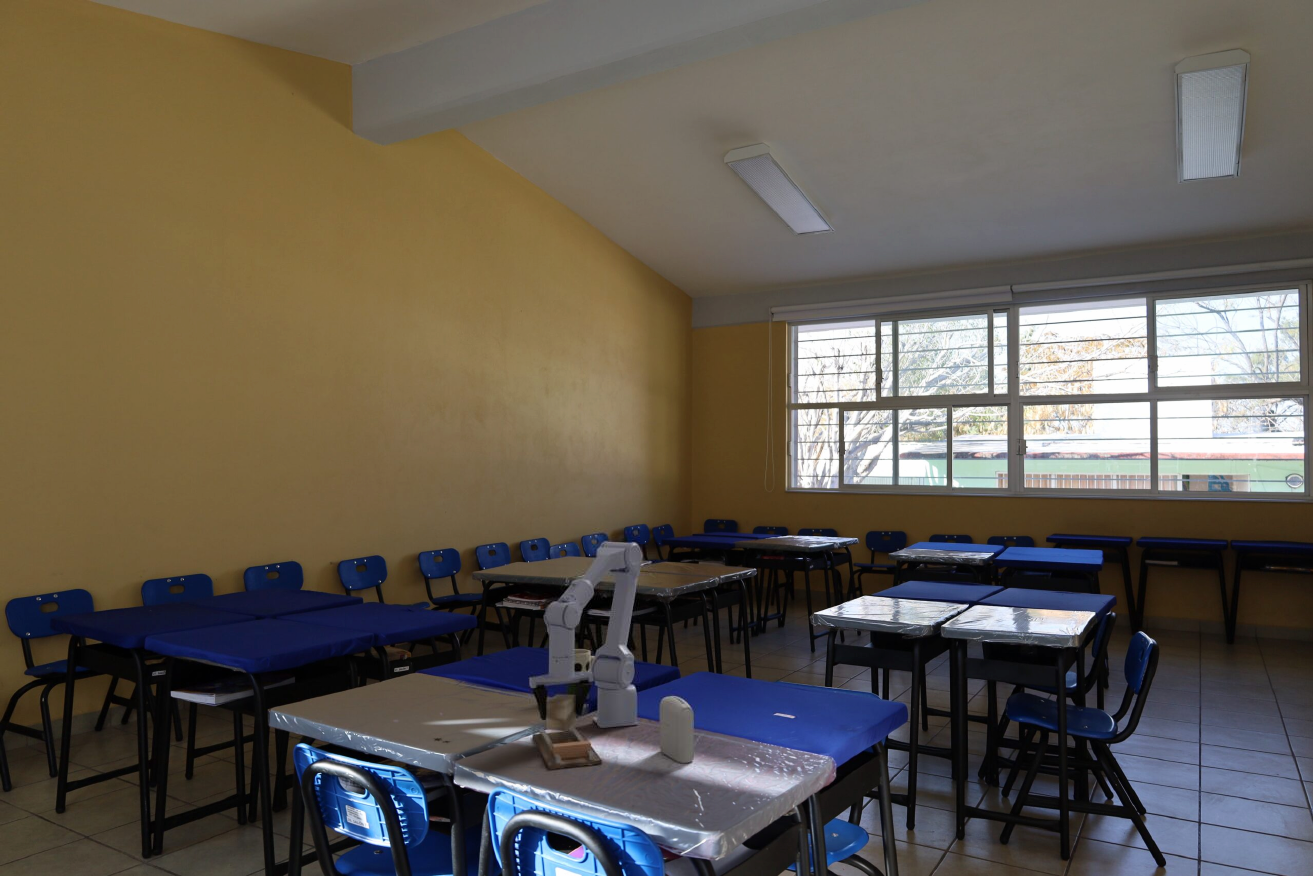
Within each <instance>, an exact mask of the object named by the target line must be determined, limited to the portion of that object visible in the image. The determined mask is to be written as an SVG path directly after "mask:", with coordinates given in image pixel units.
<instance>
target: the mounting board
mask: <svg viewBox="0 0 1313 876" xmlns="http://www.w3.org/2000/svg"><path fill="white" fill-rule="evenodd" d="M576 730H577V731H578V733H579V734H580V735H581V737H582V738H583V739H584V741H588V739H587V738H586V737H585V736H584V734H583V733H582V731H581V730H579V729H576ZM546 733H547V735H548V737H549V738H550V740H551V742H552V743H553V744H560V743H570V742H576V740H575V739H574V738H573V736H572V735H571V733H570V732H569V730H563V731H555V732H554V731H553V732H546ZM532 740H533V741H534V744H535V745H536V747H537V749H538V751H539V753H540V755H541V756H542V758H543V760H544V762H545V764H546V766H547V768H548V767H549V768H548V769H550V770H557V769H556V768H560V769H565V768H564V767H569V768H573V767H572V766H579V767H581V766H580V765H588V766H590V765H589V764H597V765H603V759H602V758H601V757H600V756H599V755H598V752H597V751H595V749H594V747H593V746H592V745H591V750H592V752H593V753H594V760H589V759H588V758H587V756H582V757H572V758H562V759H561V764H556V763H555V761H554V759H553V757H552V756H551V754H550V752H549V750H548V749H547V747H546V745H545V743H544V742H543V740H542V738H541V736H540V735H539V733H534V734H532Z"/></svg>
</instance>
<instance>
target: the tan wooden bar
mask: <svg viewBox="0 0 1313 876" xmlns="http://www.w3.org/2000/svg"><path fill="white" fill-rule="evenodd" d="M591 746H592V743H591V741H590V740H587V741H581V742H570V743H560V744H552V751H553V752H552V757H553V759H554V756H553V755H554V753H559V755H560V757H561V759H562V758H572V757H582V756H586V750H591Z"/></svg>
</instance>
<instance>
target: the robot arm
mask: <svg viewBox="0 0 1313 876" xmlns="http://www.w3.org/2000/svg"><path fill="white" fill-rule="evenodd" d="M643 556H644V554H643V552H642V550H641V548H640V546H639V544H638V543H637V542H632V541H631V542H622V541H621V542H618V541H617V542H616V541H615V542H614V541H608V540H605V541H603V542H602V543H601V544H600V545H599V547H598V548H597V549H596V557H595V559H594V561H593V562H592V563H591V565H590V566H589V568H588V569H587V571H586V572H585V574H583V577H582V578H577V579H575V580H572V582H571V583H570V585H569V587H568V588H567V589H566V590H565V591H564V593H563V594H562V595H561V596H560V598H558V600H557V601H556V600H555V601H552V602H551V603H550V604H548V605H547V607H546V609H545V612H544V614H543V620H544V623H545V625H546V629H547V630H546V632H547V634H548V636H549V637H548V638H549V639H548V641H549V642H548V644H549V645H548V673H546V674H543V675H538V676H537V675H536V676H532V677H531V676H530V677H529V678H528V679H529V680H528V681H529V687H530V689H531V691H532V693H533V695H534V698H535V701H536V703H537V708H538V711H539V718H540V719H541V720H542V721H546V716H547V713H546V703H547V701H548V694H549V691H548V689H546V686H555V685H565V684H566V685H567V683H574V684H575V693H576V716H583V715H582V714H583V709H584V706H585V702H586V700H587V699H586V697H587V695H588V693H590V691H591V689H592V685H593V683H592V682H594V685H595V686H597V716H594V717H592V721H594V722H595V723H597V726H598V727H599V728H601V729H604V728H606V729H607V728H615V727H617V728H618V727H626V726H638V724H639V723H638V694H637V689H636V687H635V685H634V684H632V681H633V679H634V677H635V665H634V663H635V662H634V661H635V656H634V654H633V653H632V652H631V651H630V650H629V648H628V647H627V646H628V639H629V635H630V634H629V633H630V629H631V628H630V627H631V622H632V621H631V620H632V616H633V609H634V608H633V607H634V604H635V597H636V593H637V592H636V590H637V587H638V586H637V584H638V579H639V577H640V574H641V568H642V562H643V558H644V557H643ZM607 574H609V575H610V576H612V577H613V579H614V580H615V586H614V591H613V596H612V597H613V598H612V602H611V603H612V604H611V610H610V614H609V619H608V620H609V621H608V626H607V633H606V639H605V643H604V644H603V645H602V646H601V647H599V648H598V649H596V652H595V655H594V656H595V658H594V660H593V662H592V661H591V670H590V671H587V672H574V649H575V638H576V637H575V633H576V632H575V631H576V629H575V628H577V626H578V625H579V623H580V620H581V617H582V613H583V609H584V608H585V607H586V606H587V605H588V603H589V602H590V600H592V598H593V597H594V595H595V592H594V591H595V590H594V588H595V587H596V586H597V585H598V583H600V582H601V580H602V579H604V577H605V576H606V575H607ZM612 657H613V658H612ZM618 658H619V659H618Z"/></svg>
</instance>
